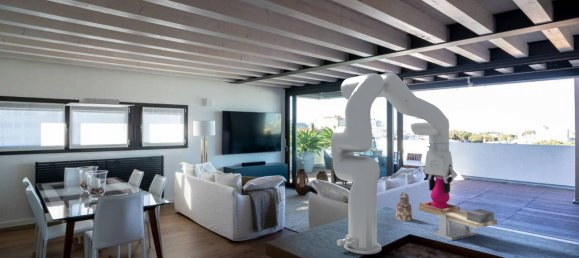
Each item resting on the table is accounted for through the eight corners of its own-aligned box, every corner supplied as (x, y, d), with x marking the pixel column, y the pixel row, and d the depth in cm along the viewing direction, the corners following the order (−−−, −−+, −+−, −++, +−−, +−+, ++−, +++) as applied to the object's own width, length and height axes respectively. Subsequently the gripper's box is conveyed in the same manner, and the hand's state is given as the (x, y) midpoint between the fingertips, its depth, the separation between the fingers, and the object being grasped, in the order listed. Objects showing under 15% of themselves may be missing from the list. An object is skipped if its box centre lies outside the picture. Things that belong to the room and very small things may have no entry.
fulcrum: (451, 240, 122) (451, 217, 122) (433, 234, 129) (433, 212, 129) (477, 234, 129) (477, 212, 129) (458, 229, 136) (458, 208, 136)
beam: (476, 228, 115) (477, 215, 115) (418, 209, 137) (418, 199, 137) (496, 224, 121) (497, 211, 121) (437, 206, 143) (438, 196, 143)
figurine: (396, 220, 149) (396, 193, 150) (395, 216, 156) (395, 191, 156) (413, 221, 148) (413, 194, 148) (411, 217, 155) (410, 191, 155)
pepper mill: (445, 205, 140) (448, 158, 139) (451, 210, 133) (455, 160, 132) (427, 204, 141) (430, 157, 140) (433, 208, 134) (436, 159, 133)
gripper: (415, 146, 142) (415, 189, 142) (452, 148, 126) (452, 196, 126) (427, 146, 145) (427, 187, 145) (464, 148, 130) (464, 194, 130)
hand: (439, 191), depth 136 cm, fingers open, 6 cm apart
